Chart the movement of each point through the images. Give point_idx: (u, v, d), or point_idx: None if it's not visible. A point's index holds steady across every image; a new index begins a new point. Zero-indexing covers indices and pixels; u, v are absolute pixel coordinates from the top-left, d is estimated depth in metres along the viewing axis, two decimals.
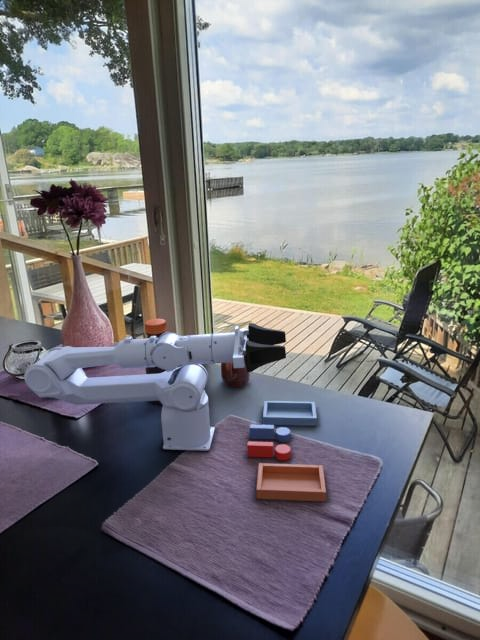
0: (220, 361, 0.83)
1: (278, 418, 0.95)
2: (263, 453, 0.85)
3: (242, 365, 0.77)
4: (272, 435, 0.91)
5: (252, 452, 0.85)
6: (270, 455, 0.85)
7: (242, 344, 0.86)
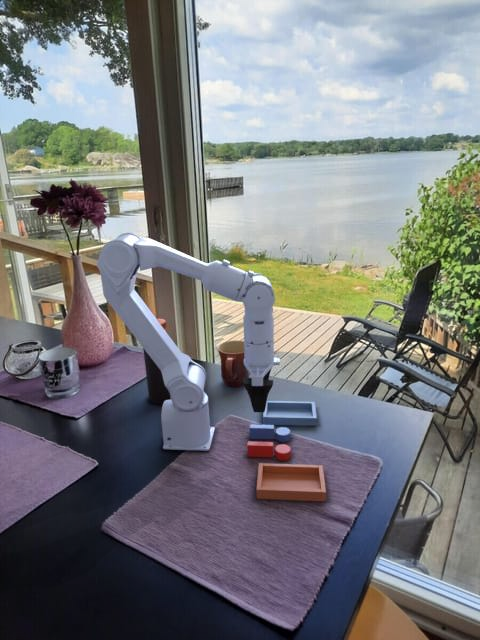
0: (248, 349, 0.83)
1: (278, 418, 0.95)
2: (263, 453, 0.85)
3: (254, 384, 0.80)
4: (272, 435, 0.91)
5: (252, 452, 0.85)
6: (270, 455, 0.85)
7: None
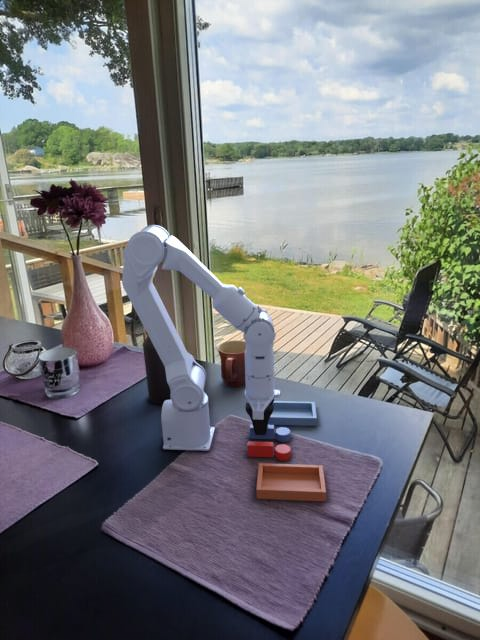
0: (249, 382, 0.85)
1: (278, 418, 0.95)
2: (263, 453, 0.85)
3: (254, 417, 0.82)
4: (272, 435, 0.91)
5: (252, 452, 0.85)
6: (270, 455, 0.85)
7: None
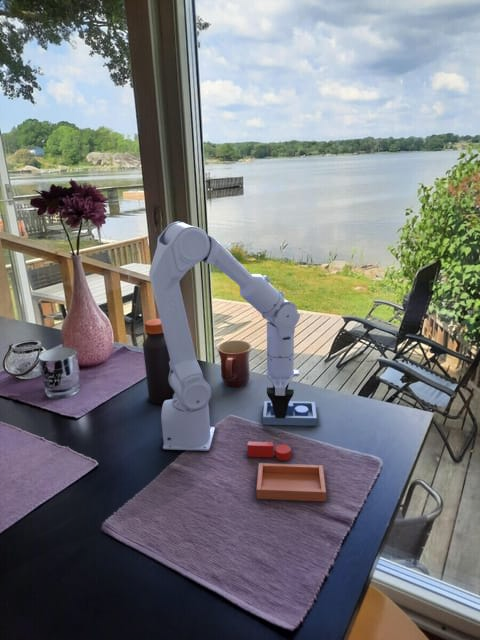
0: (271, 362, 0.93)
1: (278, 418, 0.95)
2: (263, 453, 0.85)
3: (277, 394, 0.89)
4: (291, 412, 0.98)
5: (252, 452, 0.85)
6: (270, 455, 0.85)
7: None
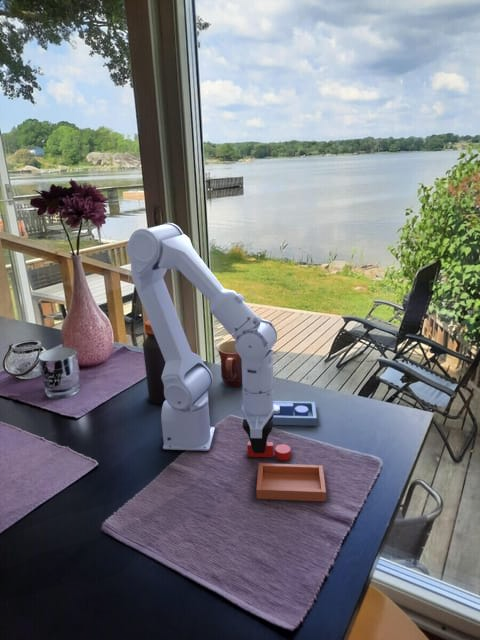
0: (247, 397, 0.80)
1: (278, 418, 0.95)
2: (263, 453, 0.85)
3: (252, 436, 0.76)
4: (291, 412, 0.98)
5: (252, 451, 0.85)
6: (270, 455, 0.85)
7: None
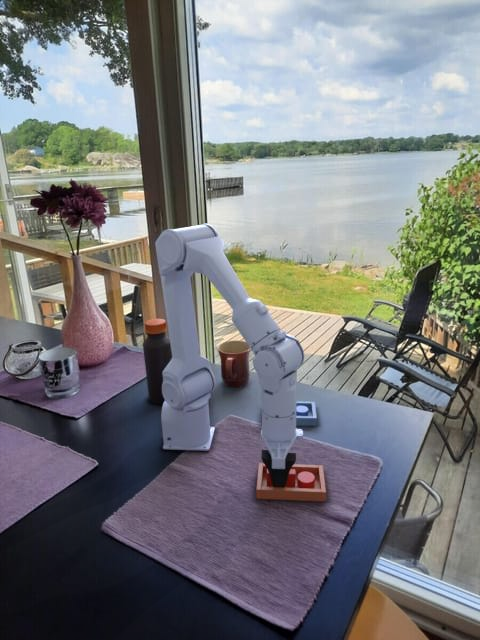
0: (267, 422, 0.71)
1: None
2: None
3: (274, 466, 0.68)
4: None
5: None
6: (292, 484, 0.77)
7: None
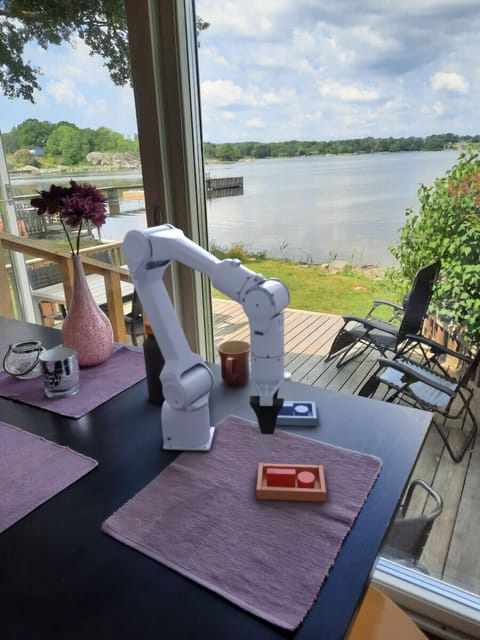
0: (256, 363, 0.73)
1: (278, 418, 0.95)
2: (284, 482, 0.77)
3: (262, 403, 0.70)
4: (291, 412, 0.98)
5: (272, 480, 0.77)
6: (292, 484, 0.77)
7: None
